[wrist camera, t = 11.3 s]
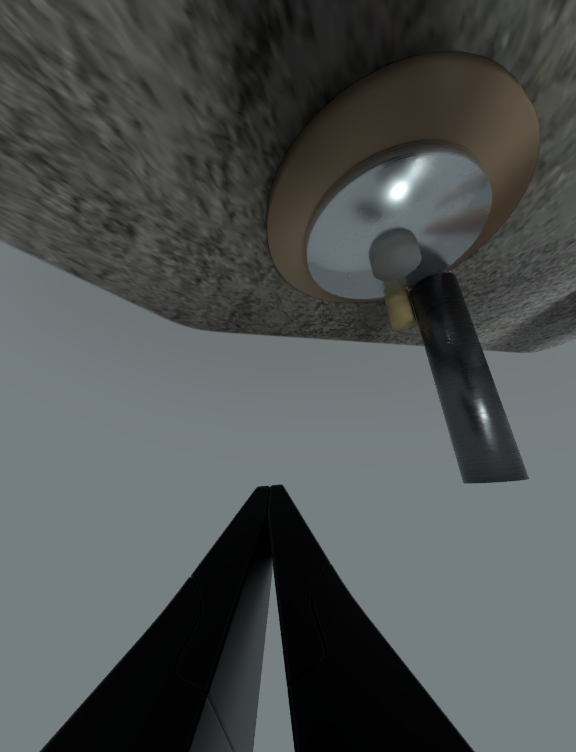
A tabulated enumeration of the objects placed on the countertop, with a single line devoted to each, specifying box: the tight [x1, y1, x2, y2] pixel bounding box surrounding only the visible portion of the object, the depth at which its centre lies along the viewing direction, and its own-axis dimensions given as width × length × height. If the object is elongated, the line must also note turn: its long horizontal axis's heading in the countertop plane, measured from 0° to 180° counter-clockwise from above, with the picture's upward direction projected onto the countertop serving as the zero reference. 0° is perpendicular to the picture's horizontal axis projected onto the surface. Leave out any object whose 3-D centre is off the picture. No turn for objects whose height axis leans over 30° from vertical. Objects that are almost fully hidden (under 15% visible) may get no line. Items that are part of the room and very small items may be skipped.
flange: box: [305, 139, 529, 483], centre depth 14 cm, size 11×9×13 cm
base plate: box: [267, 52, 540, 331], centre depth 15 cm, size 13×13×4 cm
